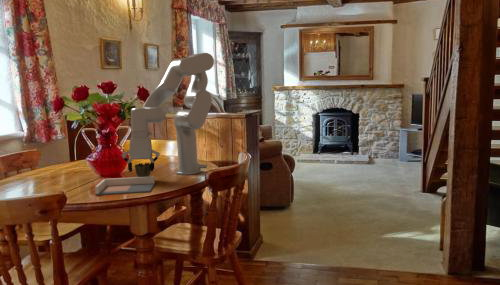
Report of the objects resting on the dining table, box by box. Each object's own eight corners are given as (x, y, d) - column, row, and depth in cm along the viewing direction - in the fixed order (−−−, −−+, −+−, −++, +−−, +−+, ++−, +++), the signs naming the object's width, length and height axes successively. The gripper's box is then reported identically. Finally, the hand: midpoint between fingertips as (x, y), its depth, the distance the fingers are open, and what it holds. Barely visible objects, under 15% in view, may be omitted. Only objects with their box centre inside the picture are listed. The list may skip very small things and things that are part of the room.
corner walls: (154, 182, 194) (154, 176, 193) (150, 190, 179) (149, 183, 179) (104, 185, 192) (103, 179, 192) (95, 193, 177) (94, 186, 177)
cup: (153, 178, 206) (152, 162, 205) (150, 182, 198) (149, 165, 197) (137, 179, 205) (136, 162, 204) (134, 182, 198) (132, 165, 197)
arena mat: (154, 184, 194) (154, 182, 194) (150, 192, 179) (150, 190, 179) (104, 186, 192) (104, 185, 192) (95, 195, 177) (95, 193, 177)
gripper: (160, 133, 203) (161, 169, 205) (122, 134, 202) (124, 170, 204) (158, 135, 196) (159, 172, 198) (119, 135, 194) (120, 173, 196)
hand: (141, 171), depth 201 cm, fingers open, 9 cm apart
